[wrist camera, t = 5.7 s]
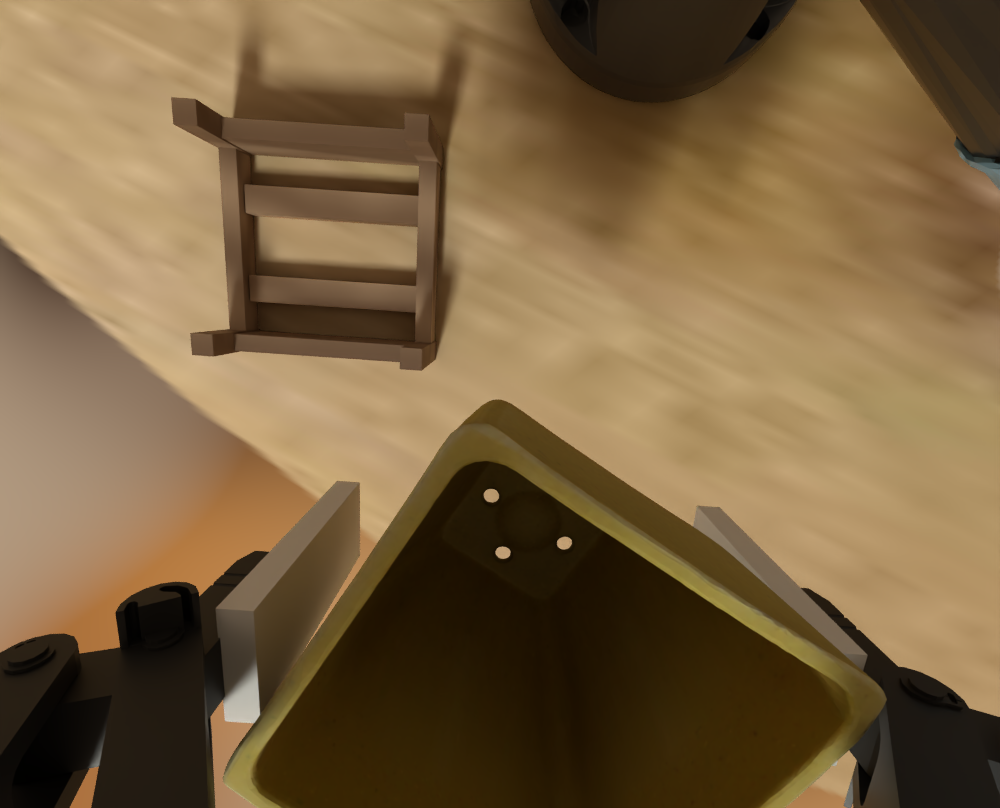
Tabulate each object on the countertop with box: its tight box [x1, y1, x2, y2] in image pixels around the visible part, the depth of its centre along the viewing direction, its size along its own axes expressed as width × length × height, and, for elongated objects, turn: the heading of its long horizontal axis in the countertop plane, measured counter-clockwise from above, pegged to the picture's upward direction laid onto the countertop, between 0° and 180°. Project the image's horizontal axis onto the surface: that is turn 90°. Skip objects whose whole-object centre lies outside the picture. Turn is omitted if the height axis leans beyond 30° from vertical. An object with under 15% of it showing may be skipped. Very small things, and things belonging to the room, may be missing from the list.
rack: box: [171, 97, 443, 371], centre depth 27 cm, size 13×13×5 cm
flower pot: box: [223, 400, 887, 808], centre depth 12 cm, size 9×9×9 cm
